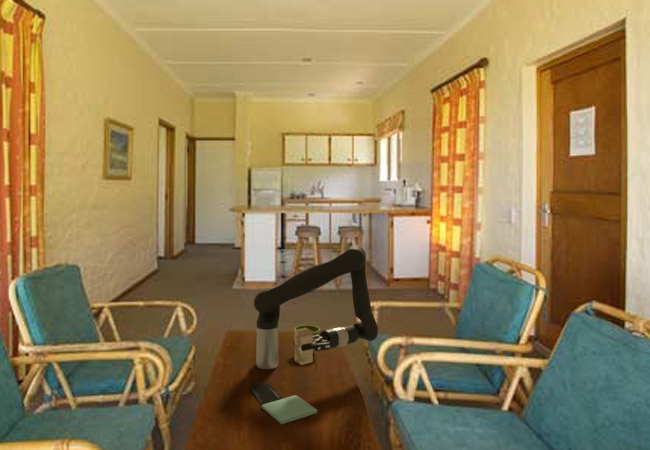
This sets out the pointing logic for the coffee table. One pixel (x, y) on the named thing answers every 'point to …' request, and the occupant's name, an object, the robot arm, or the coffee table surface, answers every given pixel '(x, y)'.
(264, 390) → the phone
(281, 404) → the green square tile
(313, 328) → the plant pot
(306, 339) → the birch block
